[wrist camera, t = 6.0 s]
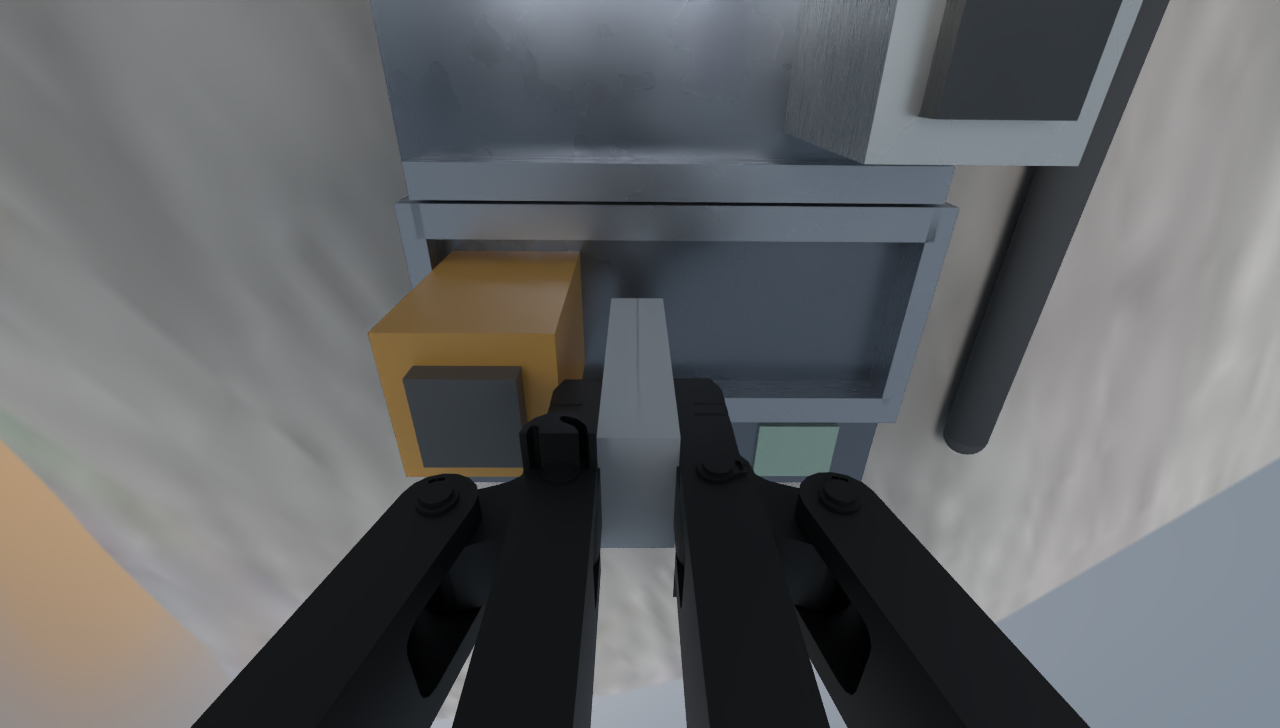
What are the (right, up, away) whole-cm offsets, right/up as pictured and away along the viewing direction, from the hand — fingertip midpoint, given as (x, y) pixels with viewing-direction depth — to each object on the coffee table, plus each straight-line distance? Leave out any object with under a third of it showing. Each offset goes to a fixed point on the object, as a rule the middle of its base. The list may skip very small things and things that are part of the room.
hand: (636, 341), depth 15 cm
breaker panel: (+1, +4, +3) cm, 5 cm away
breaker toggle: (-4, +1, +2) cm, 4 cm away
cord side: (+14, +4, +3) cm, 15 cm away
